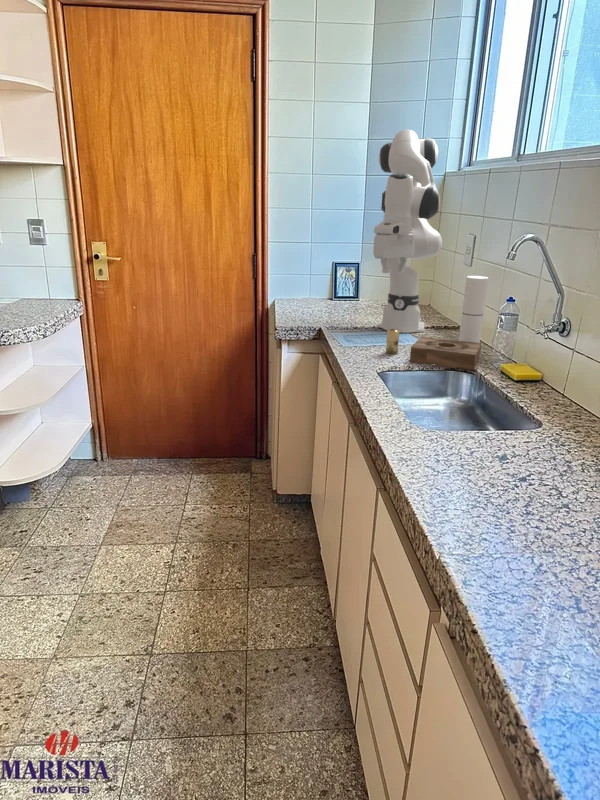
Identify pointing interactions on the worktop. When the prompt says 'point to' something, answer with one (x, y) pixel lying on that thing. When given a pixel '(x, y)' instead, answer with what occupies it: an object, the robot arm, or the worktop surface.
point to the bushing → (392, 341)
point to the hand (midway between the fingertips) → (393, 272)
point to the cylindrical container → (473, 308)
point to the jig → (445, 352)
